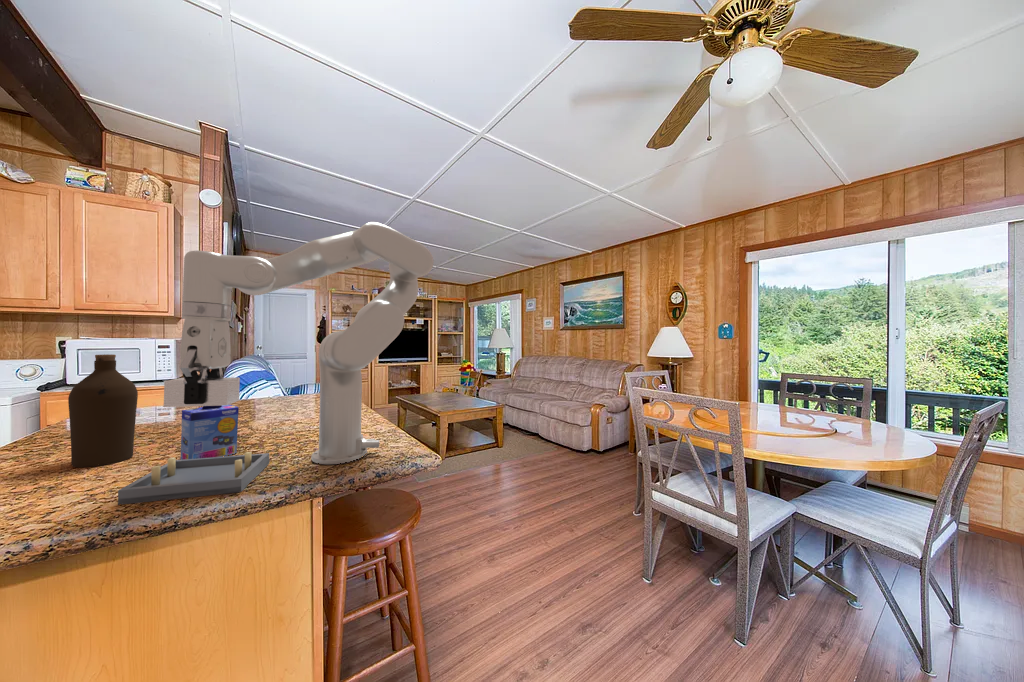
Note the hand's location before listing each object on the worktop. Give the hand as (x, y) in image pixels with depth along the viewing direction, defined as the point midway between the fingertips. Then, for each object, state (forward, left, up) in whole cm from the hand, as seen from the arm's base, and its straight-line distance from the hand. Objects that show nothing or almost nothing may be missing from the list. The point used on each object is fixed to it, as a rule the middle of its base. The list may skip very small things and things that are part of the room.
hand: (203, 400), depth 71 cm
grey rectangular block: (0, 0, -1) cm, 1 cm away
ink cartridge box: (+6, -17, -17) cm, 25 cm away
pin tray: (0, 0, -17) cm, 17 cm away
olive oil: (+28, -21, -17) cm, 39 cm away
